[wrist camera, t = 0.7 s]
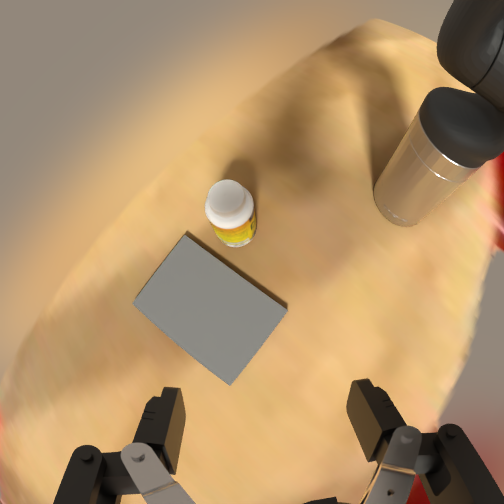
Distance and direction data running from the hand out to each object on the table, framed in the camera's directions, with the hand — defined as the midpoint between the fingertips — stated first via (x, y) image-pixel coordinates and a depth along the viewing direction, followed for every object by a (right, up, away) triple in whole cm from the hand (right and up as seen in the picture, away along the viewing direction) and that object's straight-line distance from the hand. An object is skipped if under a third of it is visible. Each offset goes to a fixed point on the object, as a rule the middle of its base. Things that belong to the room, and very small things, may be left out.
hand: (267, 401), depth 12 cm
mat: (-7, -1, +25) cm, 26 cm away
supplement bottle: (-3, +10, +28) cm, 30 cm away
